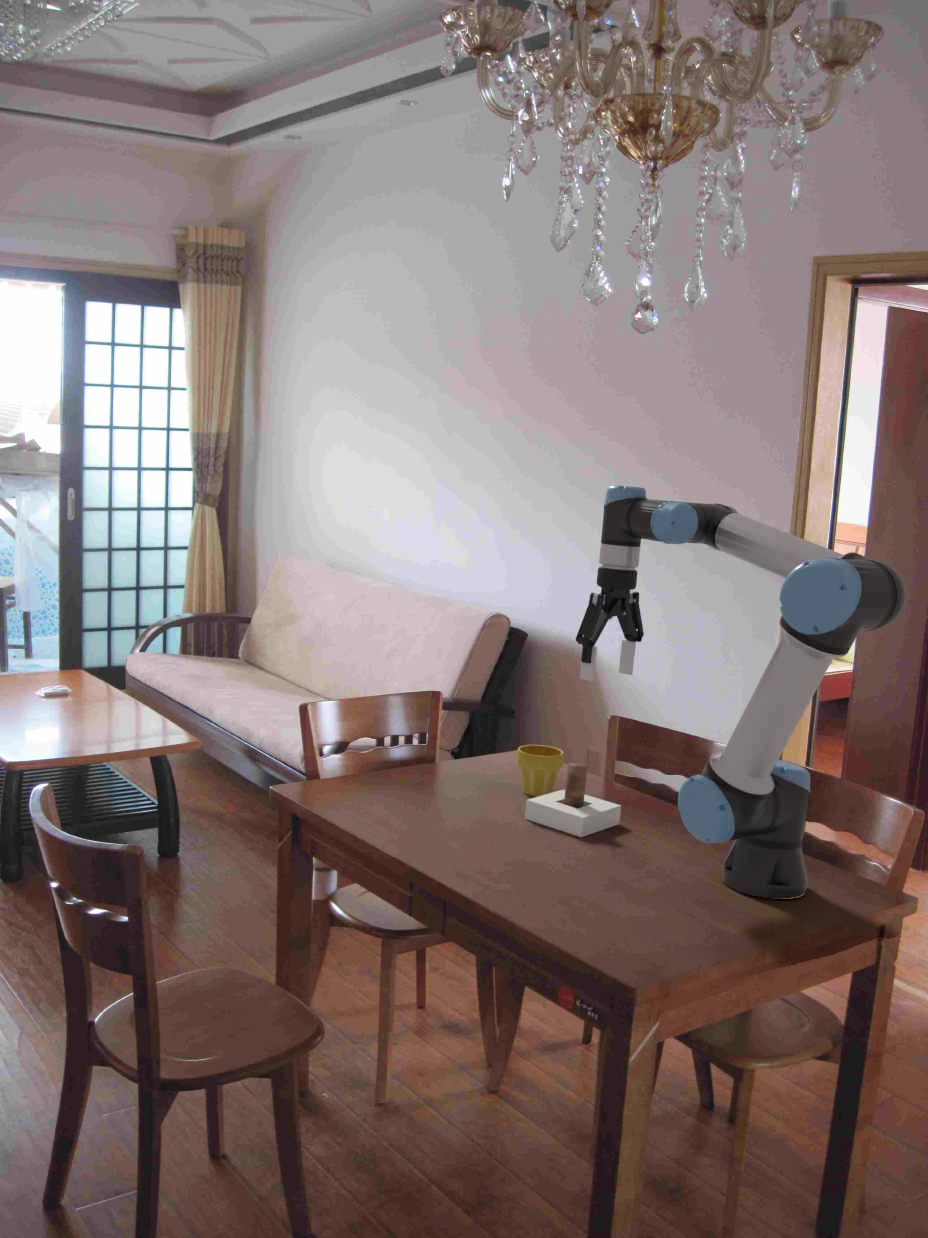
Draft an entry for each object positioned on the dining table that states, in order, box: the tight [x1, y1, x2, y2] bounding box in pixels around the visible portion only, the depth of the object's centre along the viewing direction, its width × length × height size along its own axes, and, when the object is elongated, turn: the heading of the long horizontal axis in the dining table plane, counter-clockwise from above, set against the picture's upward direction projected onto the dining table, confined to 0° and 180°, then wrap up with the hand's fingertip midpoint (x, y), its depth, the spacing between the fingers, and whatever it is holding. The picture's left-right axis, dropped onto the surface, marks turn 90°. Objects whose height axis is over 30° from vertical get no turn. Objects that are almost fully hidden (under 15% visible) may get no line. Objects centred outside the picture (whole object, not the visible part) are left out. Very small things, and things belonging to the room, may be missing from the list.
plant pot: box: [516, 744, 565, 797], centre depth 255 cm, size 10×10×10 cm
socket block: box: [524, 788, 622, 838], centre depth 237 cm, size 14×14×4 cm
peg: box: [564, 761, 588, 809], centre depth 236 cm, size 4×4×12 cm
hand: (606, 676), depth 221 cm, fingers open, 13 cm apart
